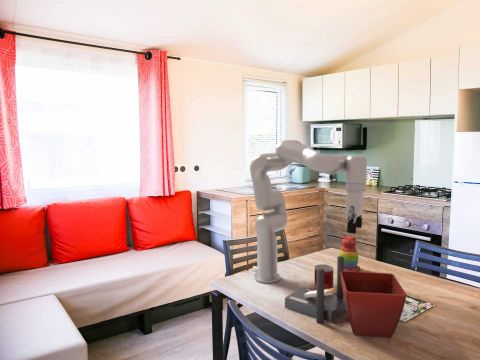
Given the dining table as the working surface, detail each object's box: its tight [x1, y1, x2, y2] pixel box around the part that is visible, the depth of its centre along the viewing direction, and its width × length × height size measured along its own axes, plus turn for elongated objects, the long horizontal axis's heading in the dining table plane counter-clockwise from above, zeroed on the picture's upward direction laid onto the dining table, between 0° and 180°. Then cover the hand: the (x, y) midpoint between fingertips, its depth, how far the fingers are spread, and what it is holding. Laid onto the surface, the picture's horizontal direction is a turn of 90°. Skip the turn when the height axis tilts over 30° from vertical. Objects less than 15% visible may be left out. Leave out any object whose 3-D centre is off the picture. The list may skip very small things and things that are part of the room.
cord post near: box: [315, 268, 325, 325], centre depth 134 cm, size 3×3×20 cm
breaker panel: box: [284, 287, 347, 324], centre depth 145 cm, size 20×13×6 cm, turn 50°
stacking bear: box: [338, 235, 361, 272], centre depth 186 cm, size 11×10×18 cm
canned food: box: [313, 263, 334, 291], centre depth 161 cm, size 8×8×11 cm
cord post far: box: [336, 255, 344, 299], centre depth 147 cm, size 3×3×20 cm
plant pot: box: [340, 271, 408, 338], centre depth 130 cm, size 19×19×17 cm
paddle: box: [304, 287, 337, 297], centre depth 144 cm, size 12×4×1 cm, turn 50°
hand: (354, 230), depth 145 cm, fingers open, 9 cm apart
